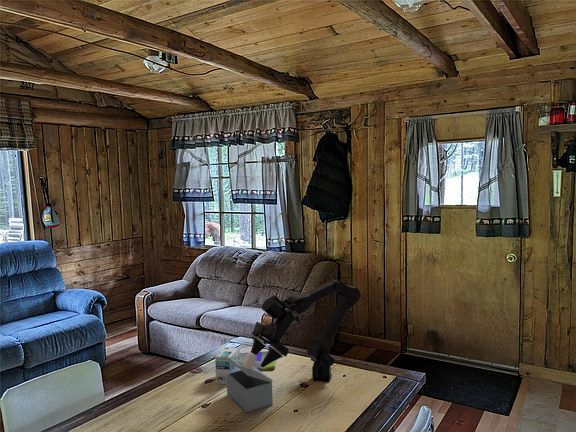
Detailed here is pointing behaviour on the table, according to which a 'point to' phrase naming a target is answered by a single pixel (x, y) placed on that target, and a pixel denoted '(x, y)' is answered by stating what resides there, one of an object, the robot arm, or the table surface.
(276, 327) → the robot arm
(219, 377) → the light bulb box
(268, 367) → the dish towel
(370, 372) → the table surface
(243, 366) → the carton lid
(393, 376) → the table surface
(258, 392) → the carton
